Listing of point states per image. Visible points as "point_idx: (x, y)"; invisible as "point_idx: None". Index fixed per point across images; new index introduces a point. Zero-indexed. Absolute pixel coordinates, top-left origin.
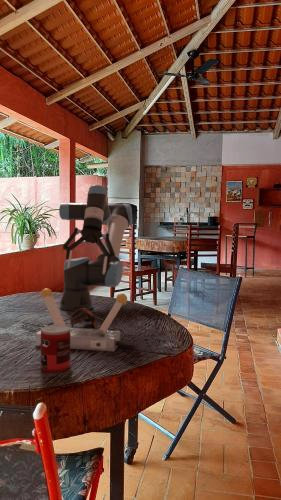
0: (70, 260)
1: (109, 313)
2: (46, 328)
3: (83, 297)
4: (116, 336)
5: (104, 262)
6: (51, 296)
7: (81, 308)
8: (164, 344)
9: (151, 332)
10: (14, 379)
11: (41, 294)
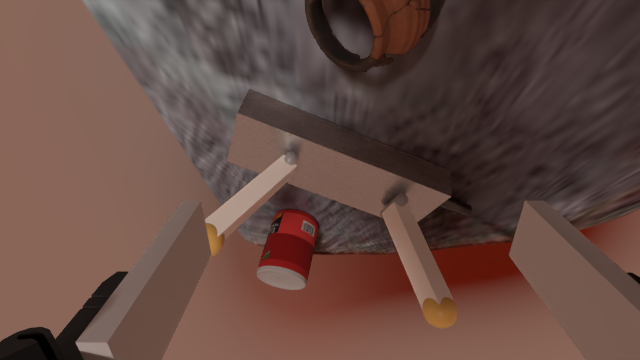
0: (190, 296)
1: (404, 264)
2: (264, 272)
3: None
4: (422, 217)
5: (575, 324)
6: (225, 232)
7: (363, 6)
8: (555, 204)
9: (619, 123)
10: (248, 229)
11: None
